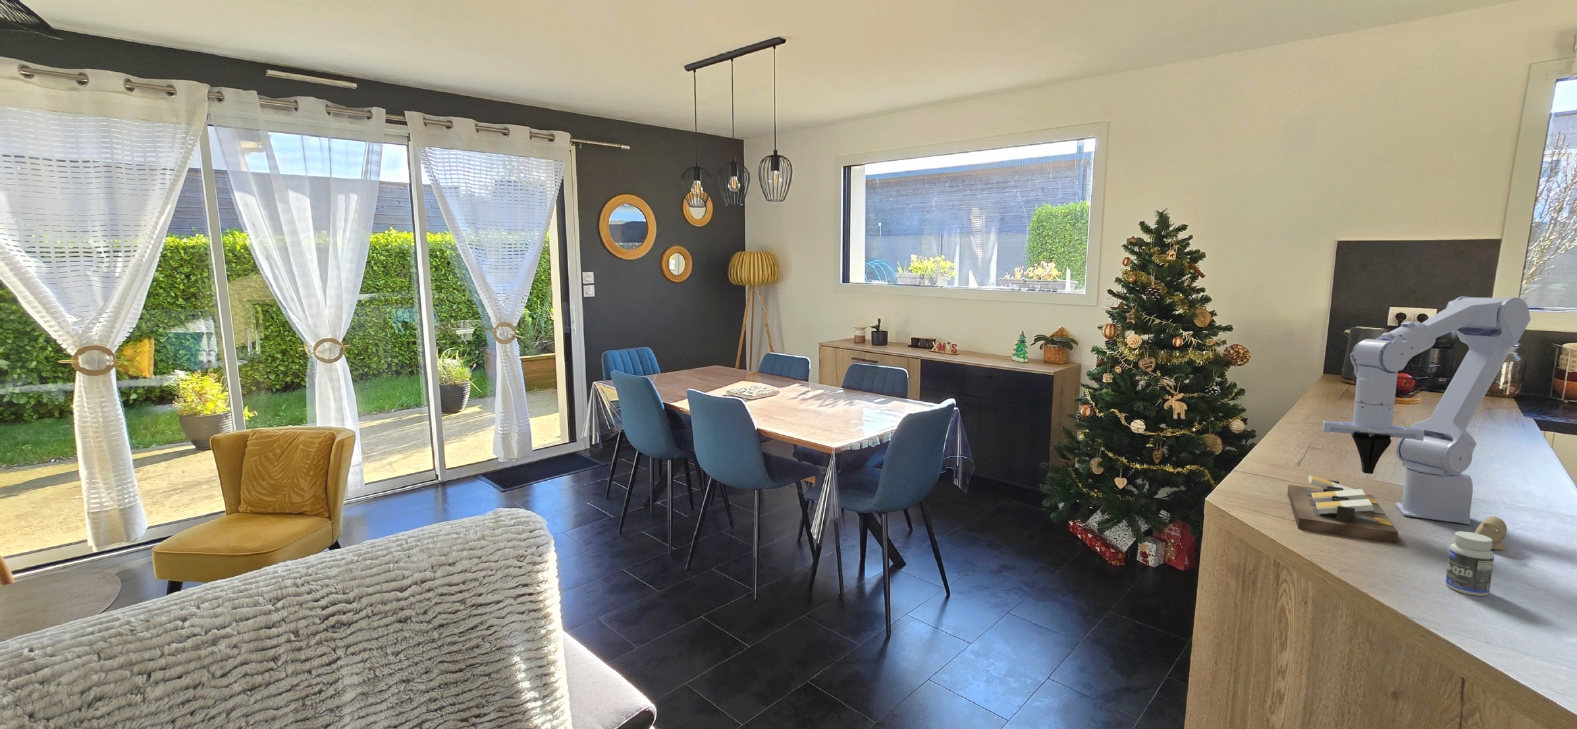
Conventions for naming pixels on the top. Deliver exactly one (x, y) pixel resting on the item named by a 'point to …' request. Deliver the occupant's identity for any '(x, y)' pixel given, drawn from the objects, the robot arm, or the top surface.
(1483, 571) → the pill bottle
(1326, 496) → the rocker middle
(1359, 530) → the switch panel
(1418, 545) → the top surface
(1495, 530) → the decorative ornament
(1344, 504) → the rocker near
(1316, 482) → the block
